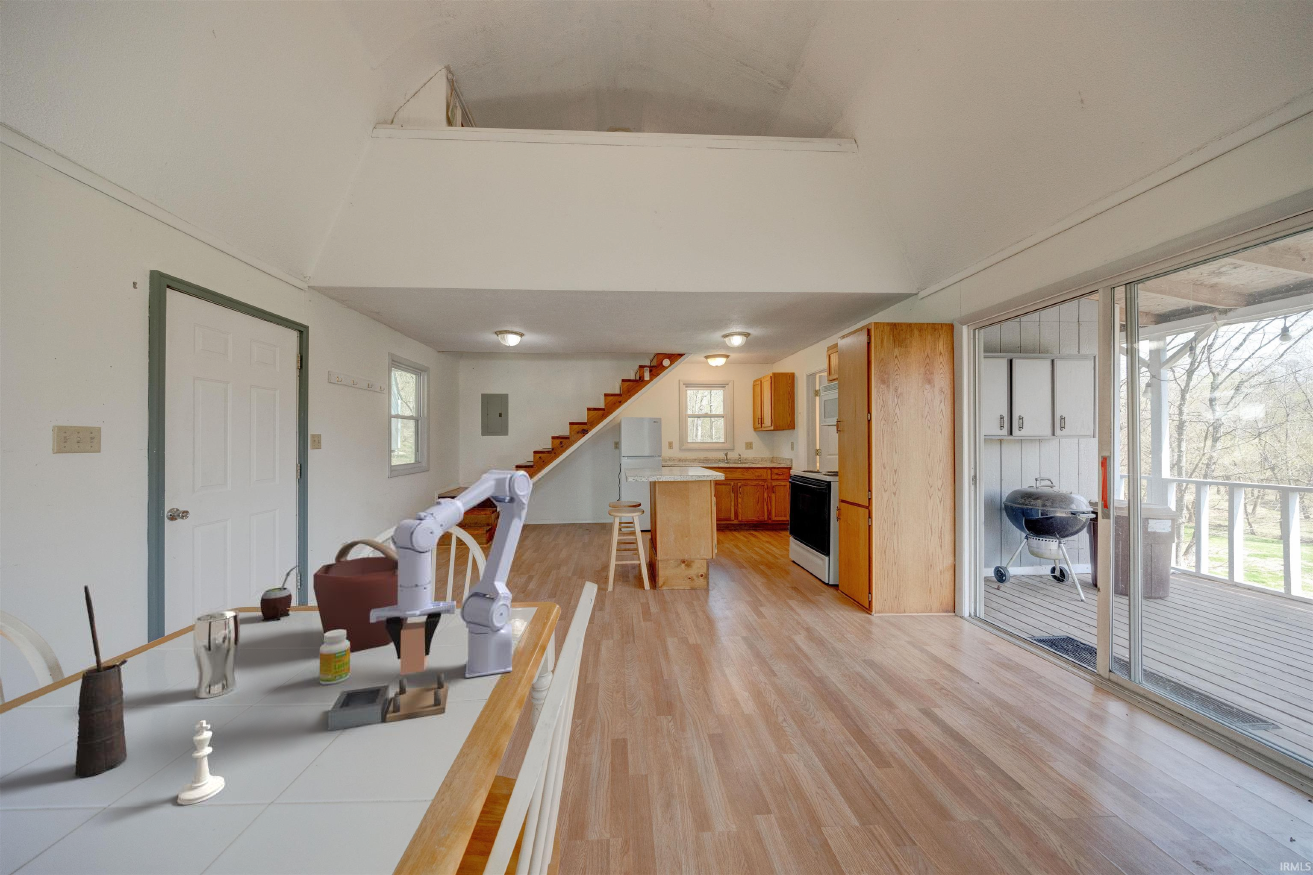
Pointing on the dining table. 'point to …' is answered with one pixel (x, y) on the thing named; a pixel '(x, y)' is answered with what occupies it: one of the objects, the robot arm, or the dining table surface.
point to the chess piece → (201, 771)
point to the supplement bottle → (334, 658)
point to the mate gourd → (276, 602)
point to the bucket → (358, 594)
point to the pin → (413, 647)
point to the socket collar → (359, 707)
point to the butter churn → (100, 713)
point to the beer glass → (216, 652)
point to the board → (418, 701)
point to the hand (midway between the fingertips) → (413, 655)
